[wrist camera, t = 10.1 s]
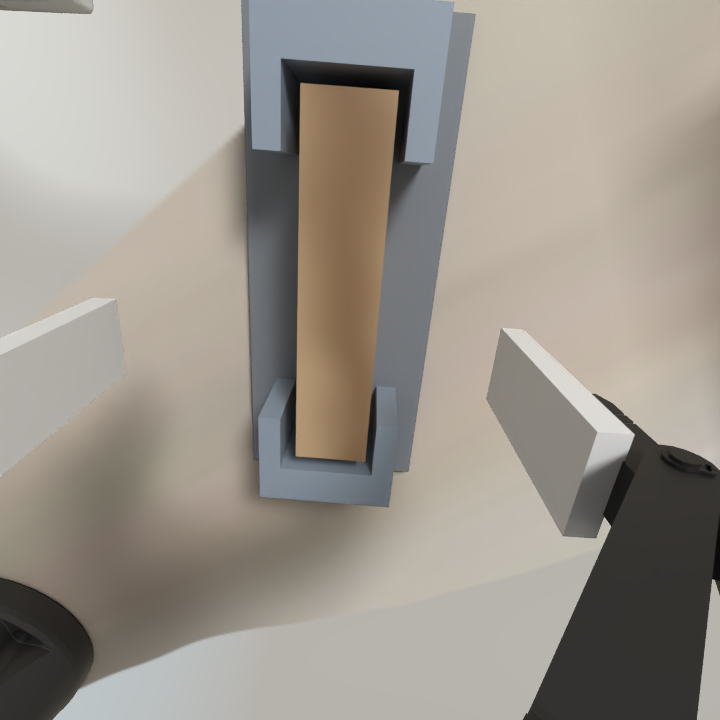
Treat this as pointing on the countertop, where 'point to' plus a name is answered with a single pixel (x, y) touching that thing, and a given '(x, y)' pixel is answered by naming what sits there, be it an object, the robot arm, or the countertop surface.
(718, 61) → the countertop surface
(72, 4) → the skincare box
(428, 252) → the endcap rail
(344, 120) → the brown long rectangular block
